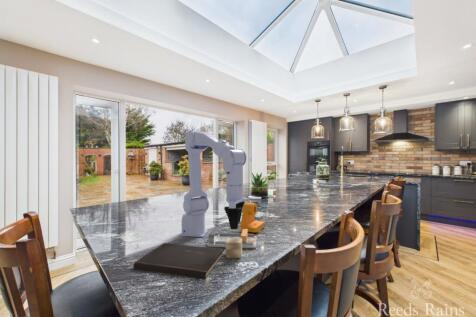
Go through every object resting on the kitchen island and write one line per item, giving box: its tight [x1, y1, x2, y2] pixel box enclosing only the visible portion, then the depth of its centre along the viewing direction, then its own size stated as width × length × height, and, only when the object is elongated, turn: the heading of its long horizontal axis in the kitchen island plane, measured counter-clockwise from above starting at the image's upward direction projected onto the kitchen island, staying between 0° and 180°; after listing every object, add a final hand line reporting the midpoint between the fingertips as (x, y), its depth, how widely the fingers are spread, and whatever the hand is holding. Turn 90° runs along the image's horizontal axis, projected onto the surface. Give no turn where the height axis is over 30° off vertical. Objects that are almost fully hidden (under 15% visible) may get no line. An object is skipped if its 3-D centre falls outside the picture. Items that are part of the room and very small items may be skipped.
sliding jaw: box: [241, 229, 249, 242], centre depth 85 cm, size 2×8×3 cm, turn 173°
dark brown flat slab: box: [133, 242, 225, 280], centre depth 71 cm, size 16×23×2 cm
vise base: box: [206, 227, 258, 249], centre depth 86 cm, size 18×10×4 cm, turn 83°
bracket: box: [240, 202, 265, 233], centre depth 101 cm, size 11×7×12 cm, turn 151°
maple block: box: [225, 238, 243, 259], centre depth 75 cm, size 5×4×5 cm
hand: (235, 225), depth 75 cm, fingers open, 7 cm apart
